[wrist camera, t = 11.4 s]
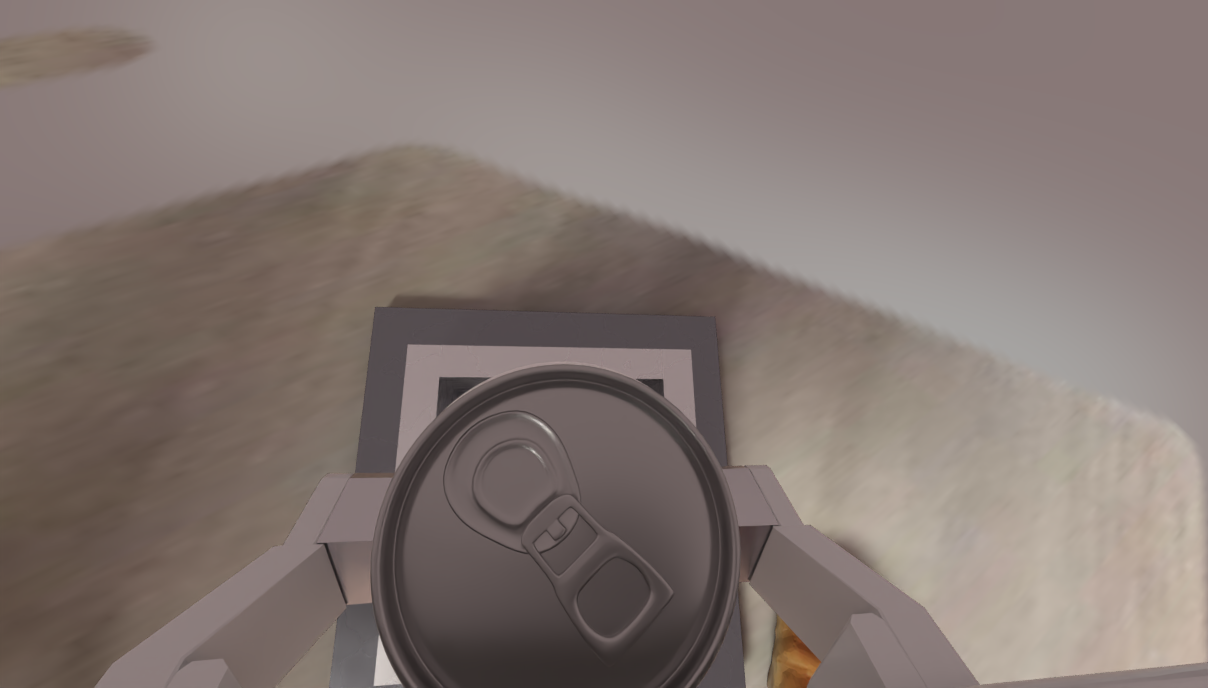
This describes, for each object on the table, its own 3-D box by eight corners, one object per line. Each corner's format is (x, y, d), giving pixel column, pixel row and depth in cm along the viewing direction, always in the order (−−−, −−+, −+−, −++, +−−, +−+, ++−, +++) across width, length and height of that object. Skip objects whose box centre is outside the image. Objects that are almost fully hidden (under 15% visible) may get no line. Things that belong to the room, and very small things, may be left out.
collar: (336, 713, 17) (265, 800, 12) (383, 314, 21) (341, 275, 17) (735, 678, 19) (792, 742, 15) (707, 322, 23) (746, 291, 19)
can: (564, 381, 19) (577, 266, 8) (667, 493, 19) (847, 547, 7) (444, 488, 18) (241, 539, 6) (552, 615, 17) (544, 940, 6)
